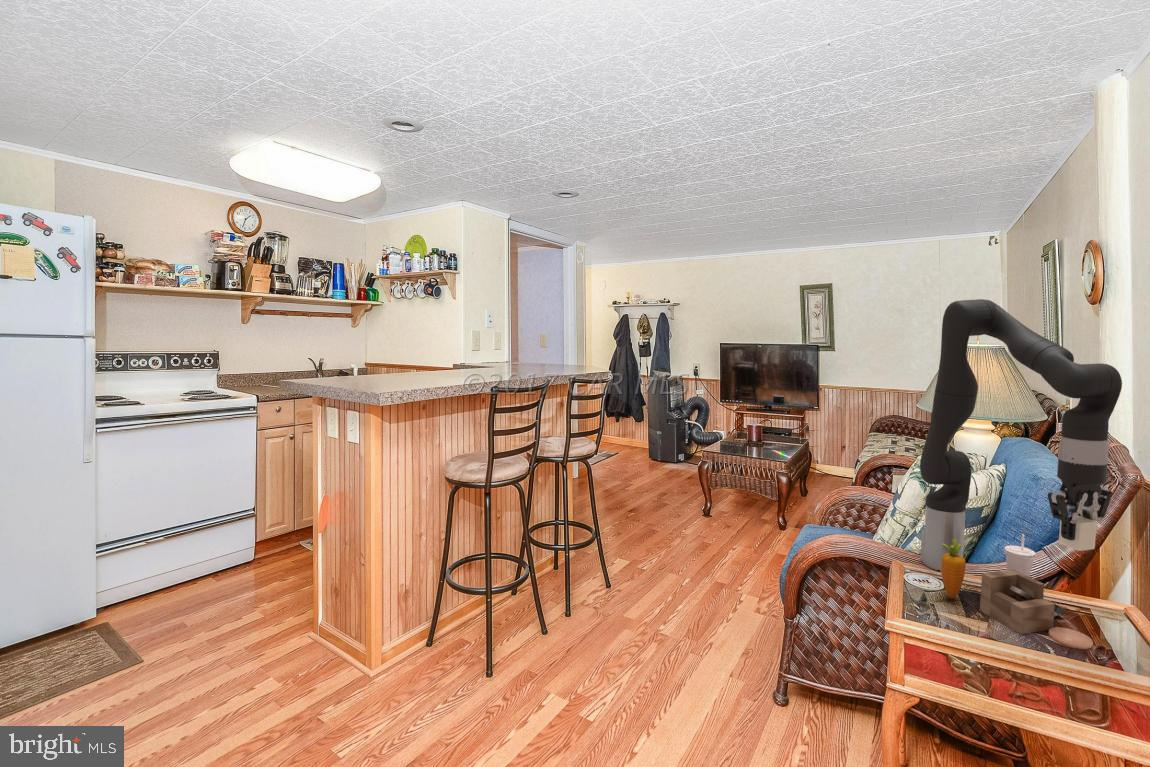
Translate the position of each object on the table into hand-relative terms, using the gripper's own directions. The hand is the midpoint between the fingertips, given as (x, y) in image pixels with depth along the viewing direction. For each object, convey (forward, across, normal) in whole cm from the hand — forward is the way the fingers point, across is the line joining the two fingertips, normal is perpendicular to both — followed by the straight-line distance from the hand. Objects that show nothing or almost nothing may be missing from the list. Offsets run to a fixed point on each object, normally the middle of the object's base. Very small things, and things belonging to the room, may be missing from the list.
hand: (1077, 537), depth 114 cm
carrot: (+23, -10, +20) cm, 32 cm away
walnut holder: (+23, -3, +9) cm, 25 cm away
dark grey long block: (+19, +1, +9) cm, 21 cm away
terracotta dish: (+23, 0, 0) cm, 23 cm away
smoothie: (+23, +12, +22) cm, 34 cm away
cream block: (+2, 0, 0) cm, 2 cm away
